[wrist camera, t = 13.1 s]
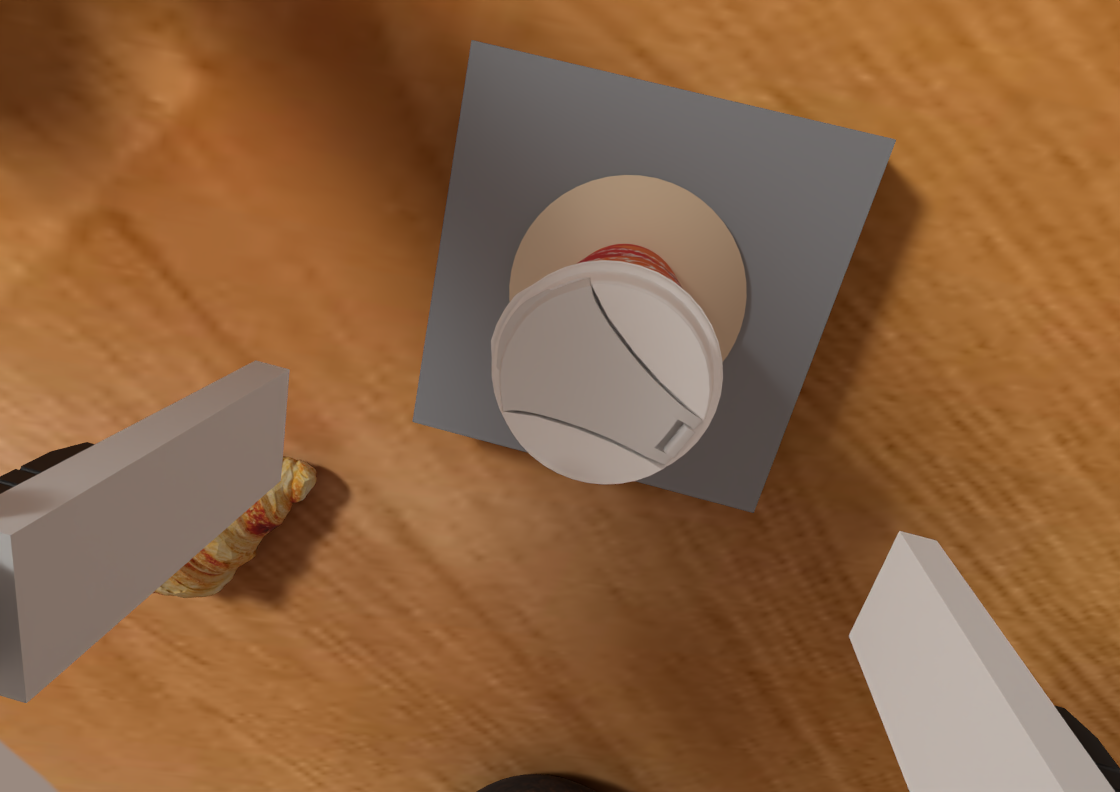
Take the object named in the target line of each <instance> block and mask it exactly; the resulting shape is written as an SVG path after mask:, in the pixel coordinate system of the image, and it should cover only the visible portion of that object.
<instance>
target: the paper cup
mask: <svg viewBox="0 0 1120 792" xmlns="http://www.w3.org/2000/svg"><path fill="white" fill-rule="evenodd" d="M491 354H492V382H493V388H494V394H495V397H496V400H497V403H498V406H499V409H500V411H501V413H502V415H503V417H504V419H505V421H506V423H507V425H508V426H509V428H510V430H511V432H512V433H513V435H514V436H515V438H516V439H517V440H518V442H519V443H520V445H521V446H522V447H523V448H524V449H525V450H526V451H527V452H528V453H529V454H530V455H531V456H532V457H534V458H535V459H536V460H537V461H539V462H540V463H541V464H543V465H544V466H546V467H547V468H549V469H551V470H553V471H554V472H556V473H558V474H561V475H563V476H566V477H568V478H571V479H574V480H578V481H582V482H586V483H594V484H621V483H626V482H632V481H636V480H639V479H642V478H645V477H648V476H651V475H653V474H655V473H657V472H658V471H660V470H662V469H664V468H665V467H666V466H668V465H670V464H672V463H673V462H675V461H676V460H678V459H679V458H680V457H682V456H683V455H684V454H686V453H687V452H688V451H689V450H690V449H691V448H692V447H693V446H694V445H695V444H696V443H697V442H698V441H699V439H700V438H701V436H702V435H703V434H704V432H705V431H706V429H707V428H708V426H709V424H710V422H711V420H712V418H713V416H714V414H715V412H716V409H717V406H718V403H719V399H720V396H721V390H722V382H723V364H722V356H721V351H720V347H719V342H718V339H717V337H716V334H715V332H714V329H713V327H712V324H711V323H710V321H709V320H708V318H707V316H706V315H705V313H704V311H703V310H702V308H701V307H700V306H699V305H698V304H697V302H696V301H695V300H694V299H693V298H692V297H691V295H690V294H688V293H687V292H686V291H685V290H684V289H682V287H681V285H680V283H679V281H678V279H677V278H676V276H675V274H674V273H673V271H672V270H671V268H670V267H669V265H668V264H667V263H666V262H665V261H664V260H663V259H662V258H661V257H660V256H658V255H657V254H656V253H654V252H653V251H651V250H649V249H647V248H644V247H642V246H638V245H633V244H615V245H610V246H607V247H604V248H601V249H599V250H597V251H595V252H593V253H592V254H590V255H588V256H587V257H585V258H584V259H582V260H581V261H580V262H578V263H577V264H574V265H570V266H566V267H564V268H561V269H559V270H557V271H555V272H552V273H550V274H548V275H546V276H545V277H543V278H542V279H540V280H539V281H537V282H536V283H534V284H533V285H531V286H529V287H528V288H526V289H524V290H522V291H521V292H519V293H517V294H516V295H515V296H514V297H513V299H512V300H511V301H510V303H509V304H508V305H507V306H506V308H505V309H504V311H503V313H502V315H501V317H500V319H499V320H498V322H497V324H496V327H495V330H494V333H493V336H492V339H491Z"/></svg>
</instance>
